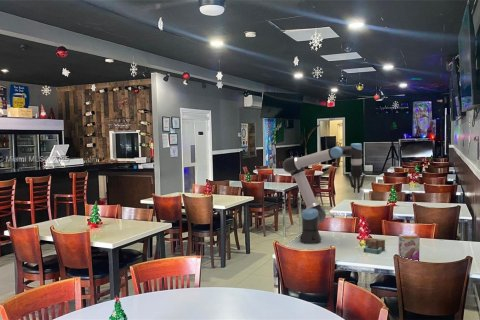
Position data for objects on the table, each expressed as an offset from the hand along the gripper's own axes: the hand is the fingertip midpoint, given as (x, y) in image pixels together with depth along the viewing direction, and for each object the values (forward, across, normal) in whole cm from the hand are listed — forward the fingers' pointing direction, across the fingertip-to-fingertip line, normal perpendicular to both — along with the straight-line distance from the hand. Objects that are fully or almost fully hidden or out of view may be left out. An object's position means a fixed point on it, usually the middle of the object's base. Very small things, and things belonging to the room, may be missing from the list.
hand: (356, 197), depth 302 cm
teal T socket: (+32, -17, +21) cm, 42 cm away
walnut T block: (+32, -17, +18) cm, 41 cm away
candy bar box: (+33, -42, +33) cm, 63 cm away
